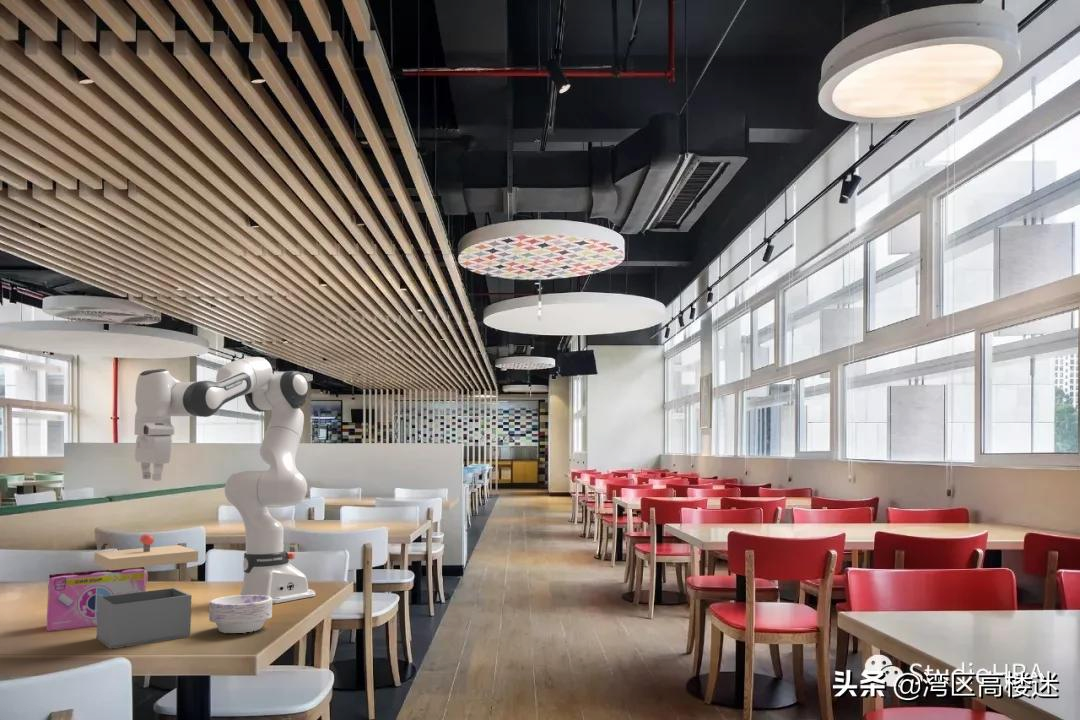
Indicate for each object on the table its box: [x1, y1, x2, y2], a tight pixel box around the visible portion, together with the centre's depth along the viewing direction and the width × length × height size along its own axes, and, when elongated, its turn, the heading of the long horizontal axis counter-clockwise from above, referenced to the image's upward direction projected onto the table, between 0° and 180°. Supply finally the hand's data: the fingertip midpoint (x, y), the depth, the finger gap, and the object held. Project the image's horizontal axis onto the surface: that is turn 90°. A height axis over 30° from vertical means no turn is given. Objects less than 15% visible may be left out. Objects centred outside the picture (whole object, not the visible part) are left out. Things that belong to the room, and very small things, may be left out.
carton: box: [96, 587, 192, 650], centre depth 202 cm, size 18×14×10 cm
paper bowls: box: [208, 594, 273, 634], centre depth 208 cm, size 15×15×8 cm
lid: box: [93, 533, 199, 570], centre depth 203 cm, size 20×16×7 cm
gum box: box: [46, 567, 149, 632], centre depth 219 cm, size 24×8×14 cm, turn 123°
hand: (151, 479), depth 219 cm, fingers open, 8 cm apart
